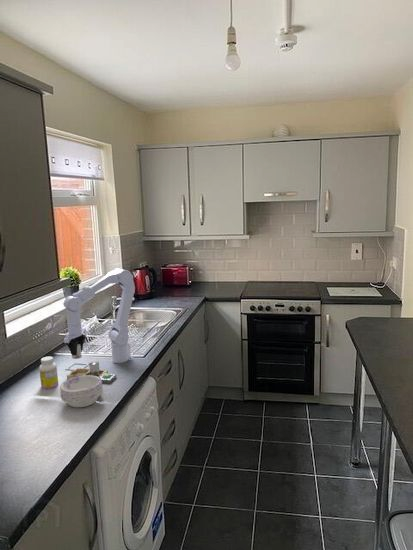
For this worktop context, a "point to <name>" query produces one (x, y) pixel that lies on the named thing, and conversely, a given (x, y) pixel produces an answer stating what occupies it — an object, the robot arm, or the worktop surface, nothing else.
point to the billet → (78, 352)
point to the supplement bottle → (48, 373)
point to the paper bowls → (81, 390)
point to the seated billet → (94, 369)
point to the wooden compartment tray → (83, 373)
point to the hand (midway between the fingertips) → (77, 353)
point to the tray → (77, 363)
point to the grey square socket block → (105, 380)
